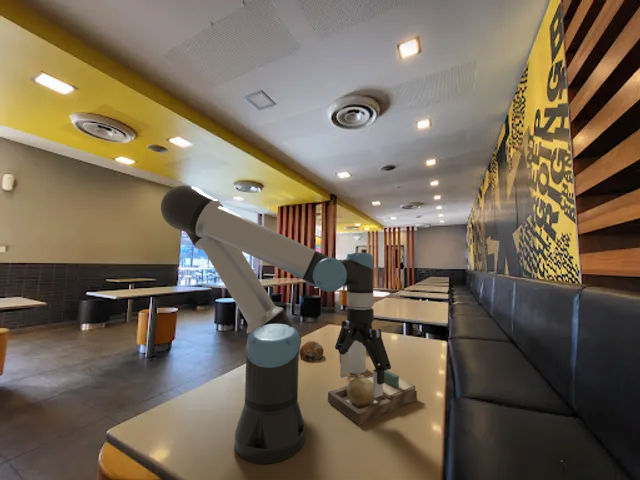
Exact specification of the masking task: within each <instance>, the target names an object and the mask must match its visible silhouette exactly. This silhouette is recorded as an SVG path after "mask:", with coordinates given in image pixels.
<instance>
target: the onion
mask: <svg viewBox="0 0 640 480" xmlns="http://www.w3.org/2000/svg"><path fill="white" fill-rule="evenodd" d="M365 377H366V376H365V374H362V373H361V374H355V377H354V378H353V379H351V380H350V381H349V382H348V384H347V385H346V386H347V396H348V398H349V400H350V401H351V402H352V403H353V404H354V405H356V406H358V407H366V406H369V405H371V404H372V403H373V402H374V400H375V397H373V384H372V383H371V382H370V381H369V380H368V379H366V378H365Z"/></svg>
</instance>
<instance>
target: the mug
mask: <svg viewBox="0 0 640 480" xmlns="http://www.w3.org/2000/svg"><path fill="white" fill-rule="evenodd" d="M348 351H349V352H346V353H349V374H354V375H356V374H357V375H358V374H361V375H362V374H364V373H365V372H367V363H366V362H367V355H366V354H367V350H366V347H365V346H363V344H362V343H360V342H358V341H354V342H353V344H352V345H351V347H350V348H349V350H348Z"/></svg>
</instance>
